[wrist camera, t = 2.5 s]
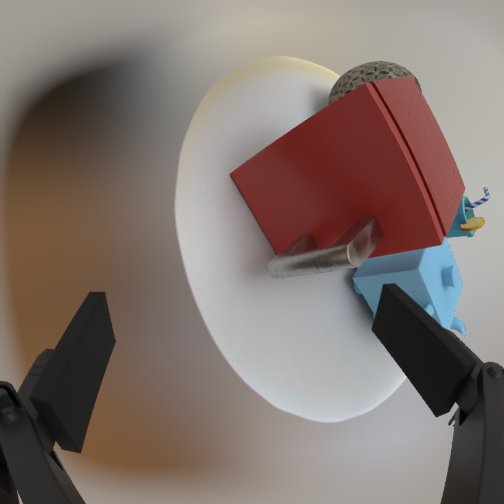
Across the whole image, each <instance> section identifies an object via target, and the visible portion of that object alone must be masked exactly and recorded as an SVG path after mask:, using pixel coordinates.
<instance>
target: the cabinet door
mask: <svg viewBox="0 0 504 504" xmlns="http://www.w3.org/2000/svg"><path fill="white" fill-rule="evenodd" d="M230 175H231V177H232V178H233V180H234V182H235V183H236V185H237V187H238V188H239V190H240V192H241V193H242V195H243V197H244V199H245V200H246V202H247V204H248V205H249V207H250V209H251V211H252V212H253V214H254V216H255V217H256V219H257V221H258V223H259V224H260V226H261V228H262V229H263V231H264V233H265V235H266V236H267V238H268V240H269V242H270V243H271V245H272V247H273V249H274V250H275V252H276V254H277V255H276V256H275V257H273V258H272V259H271V260H270V261H269V262H268V265H267V270H268V273H269V275H270V276H271V277H272V278H275V279H277V278H285V277H292V276H300V275H307V274H314V273H322V272H329V271H336V270H343V269H349V268H356V267H360V266H361V265H362V264H363V262H364V261H365V260H366V259H368V258H373V257H379V256H385V255H391V254H396V253H402V252H407V251H413V250H418V249H424V248H429V247H434V246H440V245H442V243H443V241H444V236H443V233H442V230H441V227H440V224H439V221H438V219H437V216H436V213H435V211H434V208H433V205H432V203H431V200H430V198H429V195H428V193H427V191H426V188H425V186H424V184H423V181H422V179H421V177H420V174H419V172H418V170H417V168H416V166H415V163H414V161H413V159H412V157H411V155H410V153H409V151H408V149H407V147H406V145H405V143H404V141H403V139H402V137H401V135H400V133H399V131H398V129H397V127H396V126H395V124H394V122H393V120H392V118H391V116H390V115H389V113H388V111H387V109H386V108H385V106H384V104H383V102H382V101H381V99H380V97H379V96H378V94H377V92H376V91H375V89H374V88H373V86H372V84H371V83H364V84H362V85H361V86H359V87H357V88H356V89H354V90H352V91H351V92H349V93H348V94H346V95H344V96H343V97H341V98H340V99H338V100H336V101H335V102H333V103H332V104H330V105H328V106H327V107H325V108H324V109H322V110H321V111H319V112H318V113H316V114H314V115H313V116H311V117H310V118H308V119H307V120H305V121H304V122H302V123H301V124H299V125H298V126H296V127H295V128H293V129H292V130H290V131H289V132H288V133H286V134H285V135H283V136H282V137H280V138H279V139H277V140H276V141H275V142H273V143H272V144H270V145H269V146H267V147H266V148H265V149H263V150H262V151H260V152H259V153H258V154H256V155H255V156H253V157H252V158H251V159H249V160H248V161H246V162H245V163H244V164H242V165H241V166H240V167H238V168H237V169H236V170H234V171H233V172H232V173H230Z"/></svg>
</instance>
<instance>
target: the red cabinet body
mask: <svg viewBox="0 0 504 504" xmlns="http://www.w3.org/2000/svg"><path fill="white" fill-rule="evenodd" d="M371 84H372V86H373V88H374V89H375V91H376V92H377V94H378V96H379V97H380V99H381V101H382V102H383V104H384V106H385V108H386V109H387V111H388V113H389V115H390V116H391V118H392V120H393V122H394V124H395V126H396V127H397V129H398V131H399V133H400V135H401V137H402V139H403V141H404V143H405V145H406V147H407V149H408V151H409V153H410V155H411V157H412V159H413V161H414V163H415V166H416V168H417V170H418V172H419V174H420V177H421V179H422V181H423V184H424V186H425V188H426V191H427V193H428V195H429V198H430V200H431V203H432V205H433V208H434V211H435V213H436V216H437V219H438V221H439V224H440V227H441V230H442V233H443V236H444V237H446V236H447V235H448V233H449V230H450V228H451V225H452V223H453V220H454V218H455V215H456V213H457V210H458V207H459V205H460V202H461V199H462V197H463V194H464V191H465V187H464V184H463V181H462V178H461V175H460V173H459V171H458V168H457V166H456V163H455V161H454V158H453V156H452V153H451V151H450V149H449V147H448V144H447V142H446V140H445V138H444V136H443V133H442V131H441V129H440V127H439V125H438V123H437V121H436V119H435V117H434V115H433V113H432V111H431V109H430V108H429V106H428V104H427V102H426V100H425V98H424V97H423V95H422V93H421V91H420V89H419V88H418V86H417V84H416V83H415V81H414V79H413V78H412V76H409V77H400V78H392V79H385V80H378V81H373V82H371Z"/></svg>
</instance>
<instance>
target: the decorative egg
mask: <svg viewBox="0 0 504 504" xmlns="http://www.w3.org/2000/svg"><path fill="white" fill-rule="evenodd" d="M409 76H412V78H413V79H414V81H415V83H416V84H417V86H418V88H419V89H420V91H421V88H420V84H419V82H418V81H417V79H416V77H415V76H414V75H413V74H412V73H411V72H410V71H408V70H407V69H406V68H404V67H402V66H400V65H397V64H394V63H390V62H381V61H378V62H377V61H376V62H370V63H366V64H363V65H360V66H357V67H355V68H353V69H351V70H349V71H348V72H346V73H345V74H344V75H342V76H341V77H340V78H339V79H338V80H337V82H336V83H335V85H334V86H333V88H332V90H331V93H330V96H329V105H330V104H332V103H333V102H335V101H336V100H338V99H340V98H341V97H343V96H344V95H346V94H348V93H349V92H351V91H352V90H354V89H356V88H357V87H359V86H361V85H362V84H364V83H371V82H373V81H378V80H385V79H392V78H400V77H409ZM421 93H422V91H421Z"/></svg>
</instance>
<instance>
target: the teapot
mask: <svg viewBox="0 0 504 504" xmlns="http://www.w3.org/2000/svg"><path fill="white" fill-rule="evenodd" d="M352 279H353V280H354V282H353V286H354V290H355V291H356V292H357V293H358V294H361V293H362V295H363V296H364V298H365V299H366V301H367V303H368V304H369V306H370V308H371V309H372V311H373V319H375V315H376V311H377V307H378V303H379V299H380V295H381V291H382V286H383V284H391V283H396V284H397V285H398V286H399V287H400V288H401V289H402V290H403V291H404V292H406V293H407V294H408V295H409V296H410V297H411V298H412V299H413V300H414V301H416V302H417V303H418V304H419V305H420V306H421V307H422V308H423V309H424V310H425V311H426V312H427V313H428V314H430V315H431V316H432V317H433V318H434V319H435V320H436V321H437V322H438V323H439V324H440V325H441V326H442V327H443V328H446V329H448V330H449V331H450V329H455V330H457V331H459V332H460V333H461V334H462V335H464V336H465V335H466V329H465V325H464V323H463V322H462V321H461V320H460V319H458V318H456V317H454V314H455V311H456V307H457V303H458V299H459V295H460V291H461V287H462V280H461V276H460V273H459V270H458V267H457V265H456V262H455V259H454V257H453V254H452V251H451V248H450V245H449V243H448V241H447V238H446V237H444V241H443V243H442V245H440V246H434V247H429V248H424V249H418V250H413V251H407V252H402V253H396V254H391V255H385V256H379V257H373V258H368V259H366V260H365V261H364V262H363V264H362V265H361V266H360V267H358V268H357V270H356V272H355V273H354V275H353V277H352Z"/></svg>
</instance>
